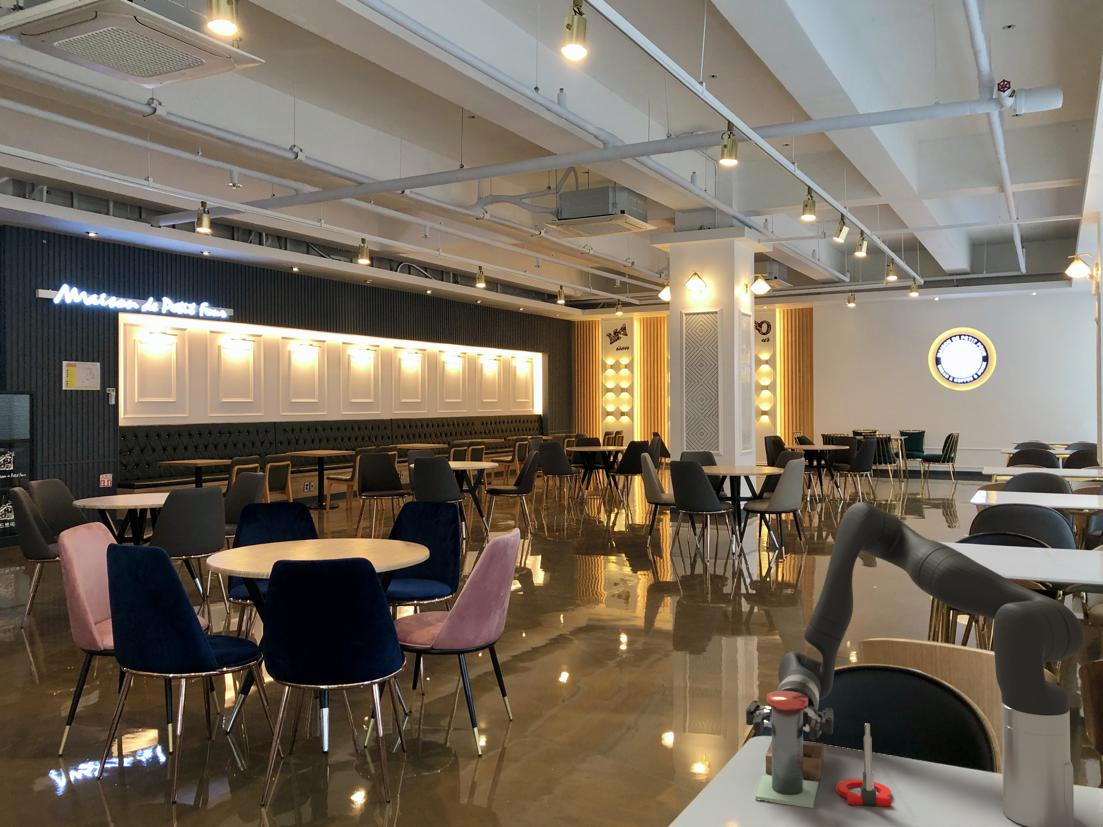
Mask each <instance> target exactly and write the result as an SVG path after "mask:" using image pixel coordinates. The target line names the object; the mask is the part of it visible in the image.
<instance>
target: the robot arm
mask: <svg viewBox="0 0 1103 827" xmlns="http://www.w3.org/2000/svg"><path fill="white" fill-rule="evenodd" d="M835 536H836V537H835V540H834V544H833V548H832V552H831V555H830V559H829V562H828V563H829V564H828V568H827V572H826V576H825V579H824V583H823V585H822V589H821V593H820V595H819V598H818V600H817V602H816V605H815V607H814V609H813V612H812V614H811V617H810V618H809V621H808V622H807V626H806V628H805V630H804V633H803V639H804V640H805V641H806V642H807V643H808V645H809V644H810V645H811V646H812V647H813V648H815V649H816V650H817V651H818V652H820V655H821V657H822V662H821V661H818V660H817V659H815V658H812V657H811V656H808V655H806V654H804V653H802V652H800V651H789V652H787V653H786V654H785V655H784V656H783V657H782V658H781V660H780V662H779V666H778V670H777V673H778V674H777V677H778V681H779V685H778V687H777V689H776V691H793V692H798V693H801V694H804V695H805V696H807V697H808V707H807V708H806V709H804V710H803V731H805V732H807V733H809V741H812V742H813V741H815V739H819V738H820V736H821V734H822V732H824V733H825V734H827V735H833V733H834V709H833V708H832V707H826V708H825V710H824V709H823V710H822V711H818V709H819V705H820V704H819V702H820V701H822V700H823V699H826V698H827V697H828V696H829V694H830V693H831V691H832V688H833V685H834V679H835V678H834V676H835V667H836V661H837V657H838V652H839V648H840V646H841V643H842V642H843V639H844V637H845V635H846V632H847V630H848V628H849V626H850V622H851V620H852V616H853V611H854V592H853V577H854V576H853V574H854V568H855V564H856V562H857V559H858V557H859V555H860V553H861V552H862V553H864V554H867V555H870V556H871V557H874V558H877V559H880V560H882V561H885V562H887V563H890V564H892V565H894V566H896V567H898V568H900V569H901V570H903V571H904V572H906V573H907V575H908V576H909V577H910V580H911V581H912V582H913V583H914V584H915V585H916V587H918V588H919V589H920V590H921V591H923V592H924V593H926V594H927V595H929V596H931V597H932V598H933V599H935V600H937V601H939V602H941V604H944V605H946V606H948V607H950V608H952V609H956V610H958V611H961V612H965V613H968V614H973V615H976V616H980V617H985V618H987V619H991V620H993V626H992V636H993V637H992V638H993V639H992V641H993V652H994V653H993V654H994V663H995V664H994V666H995V676H996V677H995V678H996V681H997V682H996V683H997V684H998V688H999V690H1000V695H1001V742H1002V744H1001V746H1002V749H1001V750H1002V752H1001V753H1002V760H1001V761H1002V804H1003V805H1002V806H1003V808H1002V810H1003V814H1004V815H1005V817H1006V818H1008V819H1010V820H1011V821H1013V822H1015V823H1017V824H1019V825H1022V826H1025V827H1075V804H1074V803H1075V802H1074V796H1075V794H1074V792H1075V790H1074V788H1075V787H1074V766H1073V763H1072V761H1071V725H1070V724H1071V723H1070V722H1071V721H1070V720H1071V719H1070V718H1071V717H1070V714H1071V713H1070V712H1071V711H1070V705H1071V704H1070V695H1069V692H1068V690H1067V689H1066V688H1064V687H1063V686H1061V685H1059V684H1057V683H1054V682H1051V681H1048V680H1046V676H1045V666H1044V663H1047V662H1056V661H1057V662H1058V661H1061V660H1064V659H1068V658H1070V657H1072V656H1075V655H1076V654H1077V653H1079V651H1080V650H1081V649H1082V647H1083V645H1084V641H1085V634H1084V628H1083V626H1082V624H1081V622H1080V620H1079V619H1078V617H1077V616H1076V615H1075V613H1074V612H1073V611H1072V610H1071V609H1070V608H1069V607H1067V606H1066V605H1065V604H1064V603H1061V602H1060V601H1058V600H1056V599H1053V598H1052V597H1049V596H1046V595H1043V594H1041V593H1039V592H1037V591H1035V590H1032V589H1029V588H1028V587H1024V586H1022V585H1020V584H1017V583H1015V582H1013V581H1012V580H1009V579H1007V578H1006V577H1004V576H1003V575H1001V574H999V573H998V572H995V571H994V570H992V569H990V568H988V567H986V566H984V565H982V564H980V563H978V562H977V561H976V560H974V559H972V558H971V557H969V556H967V555H966V554H965V553H964V554H963V552H960V551H958V550H956V549H955V548H952V546H949V545H946V544H944V543H942V542H940V541H937V540H933V539H929V538H926V537H924V536H923V535H921V534H920V533H918V532H917V531H915V530H914V529H912V528H911V527H910V526H909V525H907V524H906V523H905V522H904V521H902V520H901V519H900V518H899V517H898V516H896V515H894V514H892V513H891V512H888V511H887V510H884V509H882V508H879V507H878V506H875V505H873V504H871V503H868V502H865V501H859V502H856V503H854V504H853V503H852V505H851V506H849V507H848V508H847V509H846V511H845V512H844V514H843V516H842V517H841V520H840V523H839V525H838V528H837V533H836V535H835ZM745 723H746V724H745V725H748V726H752V729H753V731H755V733H756V735H762V732H763V730H764V729H765V727H768V728H771V729H772V707H770V706H769V705H768V704H767V705H761V703H760V701H759V700H757V699H756V700H755V699H754V700H752V701H751V702H750V704H749V705H748V706H747V708H746V709H745Z"/></svg>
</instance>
